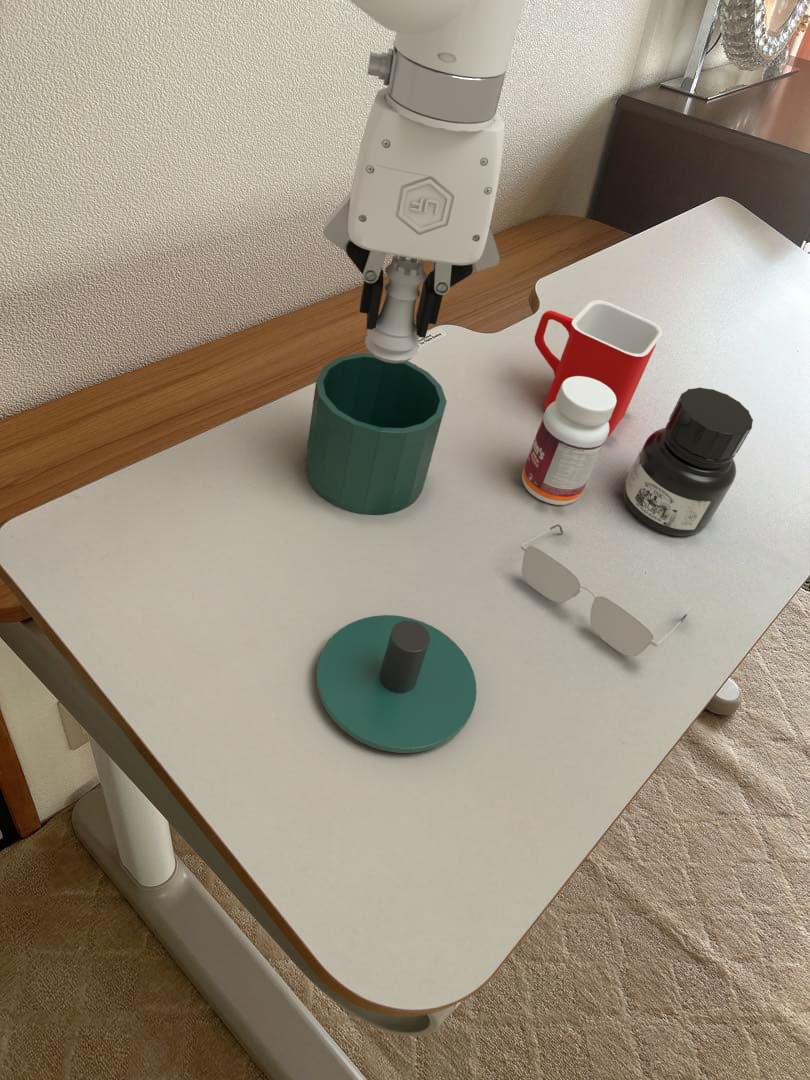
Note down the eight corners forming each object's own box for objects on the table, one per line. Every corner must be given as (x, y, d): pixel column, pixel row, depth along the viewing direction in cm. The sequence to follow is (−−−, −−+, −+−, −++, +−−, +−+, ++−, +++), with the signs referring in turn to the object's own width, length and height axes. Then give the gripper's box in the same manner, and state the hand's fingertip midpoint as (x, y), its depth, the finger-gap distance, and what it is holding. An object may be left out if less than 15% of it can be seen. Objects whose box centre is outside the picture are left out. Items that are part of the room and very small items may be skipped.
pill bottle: (517, 460, 88) (551, 367, 81) (576, 469, 89) (616, 377, 81) (523, 502, 84) (559, 407, 76) (585, 511, 85) (627, 418, 77)
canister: (280, 471, 81) (290, 386, 74) (353, 419, 88) (368, 338, 82) (378, 533, 78) (398, 450, 71) (445, 474, 85) (469, 394, 78)
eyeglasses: (508, 570, 77) (523, 537, 75) (556, 535, 83) (572, 503, 80) (642, 670, 72) (662, 638, 69) (684, 625, 77) (704, 594, 75)
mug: (630, 410, 99) (667, 328, 91) (605, 445, 93) (642, 361, 86) (535, 365, 102) (563, 282, 94) (505, 396, 96) (533, 310, 89)
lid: (281, 692, 64) (289, 639, 60) (377, 600, 72) (390, 548, 68) (416, 789, 61) (435, 741, 56) (501, 682, 69) (523, 632, 64)
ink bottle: (600, 492, 87) (645, 394, 79) (652, 463, 92) (700, 368, 84) (677, 554, 83) (734, 457, 75) (728, 520, 88) (786, 426, 80)
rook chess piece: (384, 328, 75) (401, 241, 70) (427, 352, 74) (447, 265, 69) (352, 347, 73) (368, 258, 67) (396, 372, 71) (415, 283, 66)
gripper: (317, 81, 55) (289, 334, 68) (571, 131, 57) (498, 366, 70) (323, 43, 60) (297, 284, 73) (556, 90, 63) (491, 316, 75)
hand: (396, 322), depth 72 cm, fingers closed on rook chess piece, 3 cm apart
